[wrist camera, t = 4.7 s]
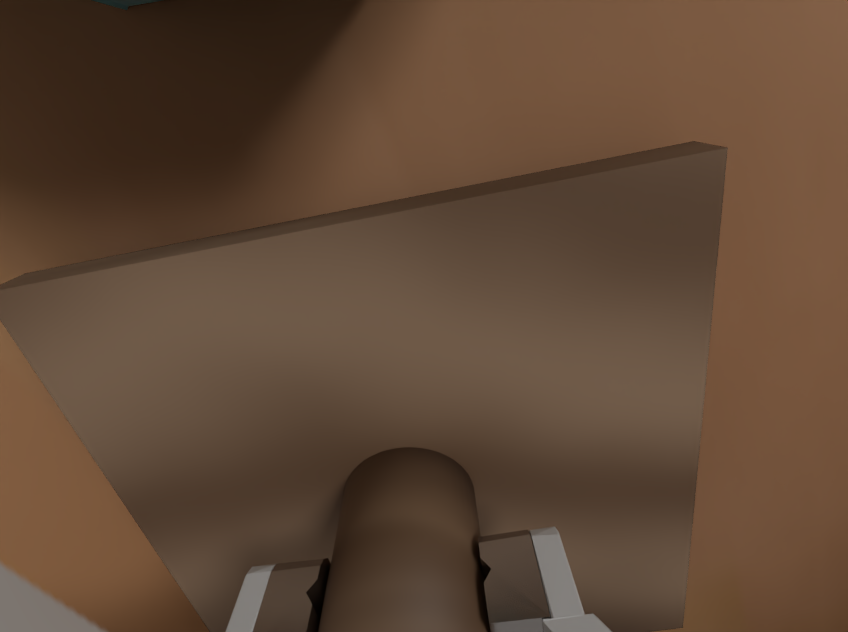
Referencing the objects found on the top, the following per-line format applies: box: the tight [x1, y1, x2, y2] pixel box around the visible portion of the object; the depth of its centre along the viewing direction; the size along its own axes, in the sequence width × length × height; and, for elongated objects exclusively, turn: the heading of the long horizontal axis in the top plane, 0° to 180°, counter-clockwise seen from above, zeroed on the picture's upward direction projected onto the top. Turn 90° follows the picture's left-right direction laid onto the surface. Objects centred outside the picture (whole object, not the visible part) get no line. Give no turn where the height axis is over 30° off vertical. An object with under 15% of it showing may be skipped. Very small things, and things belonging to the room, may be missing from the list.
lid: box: [0, 141, 728, 632], centre depth 9 cm, size 13×13×5 cm
